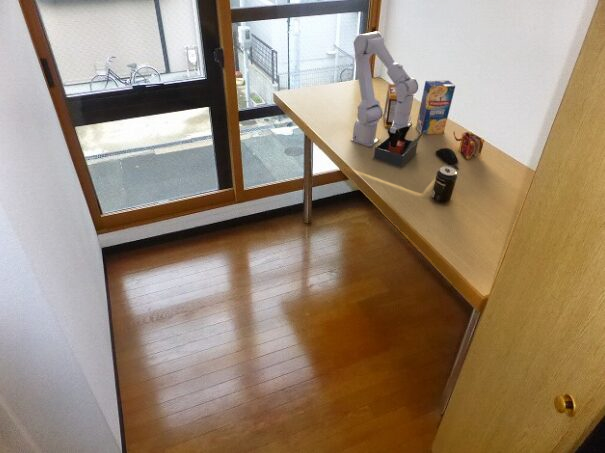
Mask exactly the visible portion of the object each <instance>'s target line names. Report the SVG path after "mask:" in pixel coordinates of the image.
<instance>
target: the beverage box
mask: <svg viewBox="0 0 605 453" xmlns="http://www.w3.org/2000/svg"><path fill="white" fill-rule="evenodd" d="M455 90H456V85H455V84H454V83H452V81H451V80H425V81H424V86H423V92H422V96H421V100H420V106H419V110H418V114H417V115H418V116H417V121H416V126H415V129H416V130H417V131H418V133H420V134H421V133H422V132H423V131H425V130H426V131H425V132H424V134H423V135H438V134H444V133H445V131H446V126H447V121H448V117H449V113H450V110H451V105H452V101H453V97H454V94H455ZM420 134H419V135H420Z"/></svg>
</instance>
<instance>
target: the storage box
mask: <svg viewBox="0 0 605 453" xmlns="http://www.w3.org/2000/svg"><path fill="white" fill-rule="evenodd" d="M398 141H401V142H405V145H404V150H403V153H404V152H405V150H406V149H407V147H408V146H409V144H410V143H411V142H412V141H413V140H411V139H408V138H405V139H404V140H403V141H402V140H398ZM389 143H390V138H389V136H388V137H386V138H384V140H382V141H381V142H380V143H379V144H377V145H376V146H375V147H374V154H373V160H377V161H379V162H383V163H385V164H388V165H392V166H394V167H397V168H402V167H403V166H404V165H405V164H406V163H407V162H408V161H409V160H411V158H412V157H413V156H415V155H416V154H417V149H418V143H419V141H418V142H417V143H416V144H415V145H414V146H413V147H412V148H411V149H409V150H408V151H407V152H406V153H405V154H404V155H399V154H396V153H393V152H390V151H388V149H389Z"/></svg>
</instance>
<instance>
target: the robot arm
mask: <svg viewBox="0 0 605 453" xmlns="http://www.w3.org/2000/svg"><path fill="white" fill-rule="evenodd" d="M353 48H354V49H353V50H354V61H355V66H356V73H357V78H358V80H357V81H358V84H359V86H358V87H359V93H360V98H361V101H360V103H358V105H357V113H356V116H357V117H356V118H357V120H355V122H354V125H353V131H352V139H351V142H355V143H358V144H362V145H364V146H367V147H372V146H373V145H374V144H376V143H377V142H379V138H376V136H377V130H378V123H379V122H380V120H381V119H382V118H383V116H384V111H383V108H382V106H381V103H380V101H379V100H377V98H376V97H375V90H374V82H373V77H372V69H371V63H370V58H371V57H372V55H375V56H377V58H378V59H379V60H380V61H381V63H382V64H383V65H384V66H385V68H386V70H387V71H386V74H387V75H388V78H389V79H390V80H391V81H392V84H395V86H396V93H397V104H396V110H395V116H394V120H393V124H392V127H391V128H387V134H388V137H389V138H390V146H391V147H394V148H395V147H396V146H397V143H398V140H402V141H403V140H404V139H406V136H407V135H408V132H409V130H410V129H411V128H412V126H413V123H412V122H410V121H411V119H412V116H411V111H412V107H411V106H413V102H412V101H414V96H415V94H416V93H417V92H418V91H419V84H418V81H417V79H416V78H414V77H411V76H410V75H408V73H407V72H406V71H405V69H404V66H403V65H402V64H401V63H400V62H396V61H395V60H394V58H393V57H392V55H391V53H390V51H389V50H388V48H387V47H386V44H385V38H384V37H383V36H382V33H380V31H373V32H367V33H359V34H357V35H356V37H355V38H354V40H353Z"/></svg>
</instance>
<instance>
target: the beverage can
mask: <svg viewBox="0 0 605 453" xmlns="http://www.w3.org/2000/svg"><path fill="white" fill-rule="evenodd" d="M457 180H458V174H457V169H455V168H453V167H450V166H442V167H440V168H439V170H438V171H437V172H436V175H435V179H434V183H433V187H432V191H431V195H430V198H431V199H432V200H433V202H435V203H437V204H447V203H449V202H451V199H452V196H453V194H454V190H455V187H456V183H457Z"/></svg>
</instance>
